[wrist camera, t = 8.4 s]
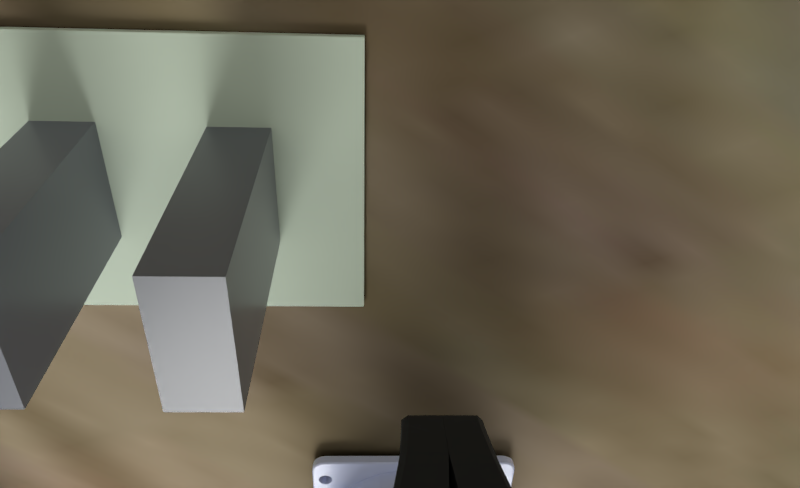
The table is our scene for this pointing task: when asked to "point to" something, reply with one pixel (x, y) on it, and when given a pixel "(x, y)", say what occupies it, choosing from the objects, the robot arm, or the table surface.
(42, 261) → the tile
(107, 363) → the table surface
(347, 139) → the felt strip
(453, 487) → the robot arm
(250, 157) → the tile
